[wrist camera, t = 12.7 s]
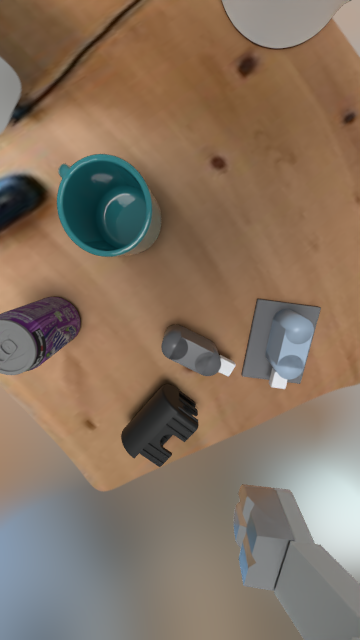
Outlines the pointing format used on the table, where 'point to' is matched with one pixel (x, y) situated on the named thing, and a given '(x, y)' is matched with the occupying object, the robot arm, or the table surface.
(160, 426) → the end cap
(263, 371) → the pad
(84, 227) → the cup
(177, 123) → the table surface
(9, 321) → the beverage can
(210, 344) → the dark gray connector
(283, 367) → the blue connector
